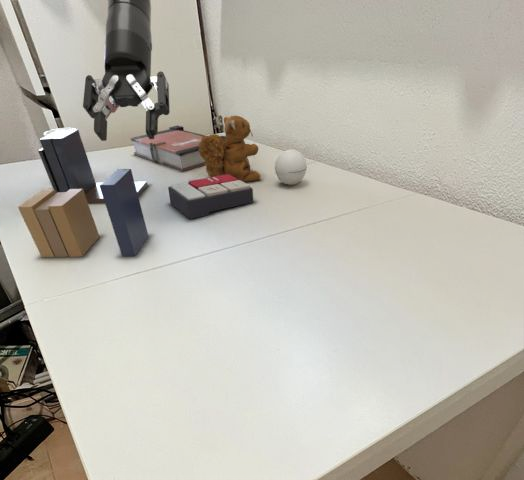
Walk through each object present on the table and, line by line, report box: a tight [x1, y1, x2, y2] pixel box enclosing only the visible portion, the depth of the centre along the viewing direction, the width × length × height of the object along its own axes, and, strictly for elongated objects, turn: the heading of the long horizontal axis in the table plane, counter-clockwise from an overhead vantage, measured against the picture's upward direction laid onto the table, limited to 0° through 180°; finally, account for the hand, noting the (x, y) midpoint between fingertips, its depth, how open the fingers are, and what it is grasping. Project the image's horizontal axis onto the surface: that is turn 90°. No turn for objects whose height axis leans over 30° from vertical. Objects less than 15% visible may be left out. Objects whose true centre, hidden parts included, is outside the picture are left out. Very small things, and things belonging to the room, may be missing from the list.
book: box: [129, 125, 226, 173], centre depth 111 cm, size 26×18×5 cm
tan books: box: [17, 189, 101, 258], centre depth 67 cm, size 8×8×9 cm
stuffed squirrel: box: [197, 115, 261, 183], centre depth 91 cm, size 10×14×13 cm
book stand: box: [37, 129, 149, 204], centre depth 87 cm, size 19×11×13 cm, turn 86°
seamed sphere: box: [274, 148, 315, 186], centre depth 88 cm, size 10×7×7 cm
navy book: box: [99, 168, 149, 257], centre depth 65 cm, size 2×8×12 cm, turn 176°
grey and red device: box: [167, 174, 254, 220], centre depth 82 cm, size 11×4×15 cm
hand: (125, 137), depth 65 cm, fingers open, 8 cm apart
